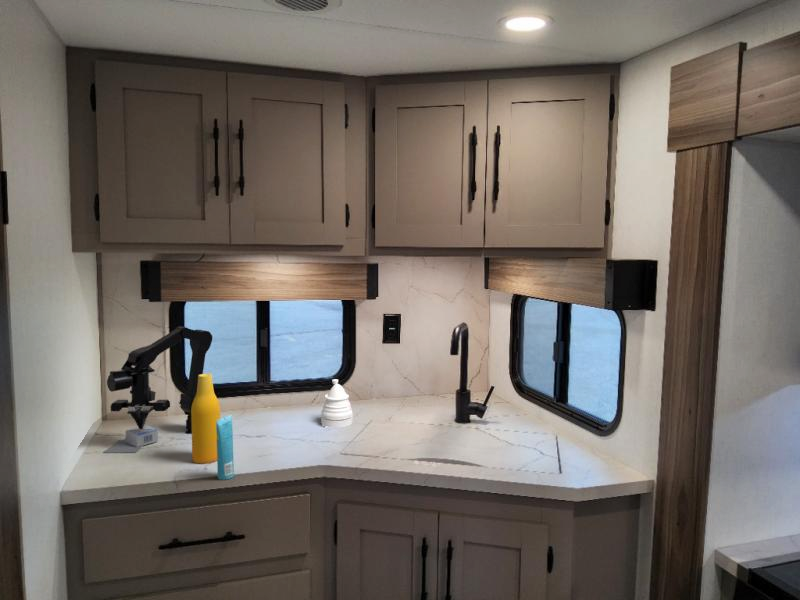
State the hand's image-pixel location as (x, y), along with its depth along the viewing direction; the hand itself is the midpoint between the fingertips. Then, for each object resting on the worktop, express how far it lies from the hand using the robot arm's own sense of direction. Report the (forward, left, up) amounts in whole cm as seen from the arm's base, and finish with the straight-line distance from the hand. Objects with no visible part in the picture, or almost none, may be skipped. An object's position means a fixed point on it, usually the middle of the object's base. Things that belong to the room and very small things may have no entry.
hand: (141, 428), depth 199 cm
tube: (-36, +27, -7) cm, 46 cm away
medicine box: (-2, -1, -4) cm, 5 cm away
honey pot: (-68, -25, -7) cm, 73 cm away
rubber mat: (+5, 0, -7) cm, 8 cm away
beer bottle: (-26, +12, -7) cm, 30 cm away
